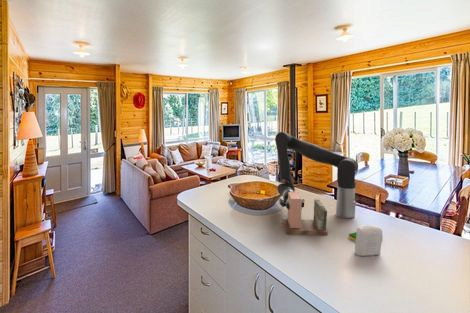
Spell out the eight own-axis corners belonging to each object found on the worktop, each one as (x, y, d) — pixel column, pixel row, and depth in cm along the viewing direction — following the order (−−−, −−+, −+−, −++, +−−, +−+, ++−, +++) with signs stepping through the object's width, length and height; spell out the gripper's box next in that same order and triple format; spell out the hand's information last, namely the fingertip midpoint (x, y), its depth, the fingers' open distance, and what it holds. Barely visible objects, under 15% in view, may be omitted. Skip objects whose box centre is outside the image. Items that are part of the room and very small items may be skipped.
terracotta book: (296, 219, 139) (297, 192, 136) (300, 228, 128) (301, 199, 125) (287, 218, 139) (288, 191, 137) (290, 228, 128) (291, 198, 126)
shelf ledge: (319, 223, 140) (321, 198, 137) (327, 235, 126) (329, 207, 124) (282, 222, 141) (283, 197, 139) (285, 234, 127) (286, 206, 125)
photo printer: (375, 250, 112) (377, 222, 110) (382, 255, 108) (384, 227, 106) (353, 251, 111) (355, 224, 109) (359, 257, 107) (361, 228, 105)
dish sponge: (382, 239, 122) (383, 234, 122) (360, 245, 117) (360, 240, 117) (369, 233, 129) (370, 228, 128) (348, 238, 124) (348, 233, 123)
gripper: (277, 190, 148) (280, 200, 131) (302, 191, 147) (309, 201, 130) (276, 203, 149) (280, 214, 132) (302, 203, 148) (308, 215, 132)
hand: (294, 207), depth 131 cm, fingers closed on terracotta book, 5 cm apart
